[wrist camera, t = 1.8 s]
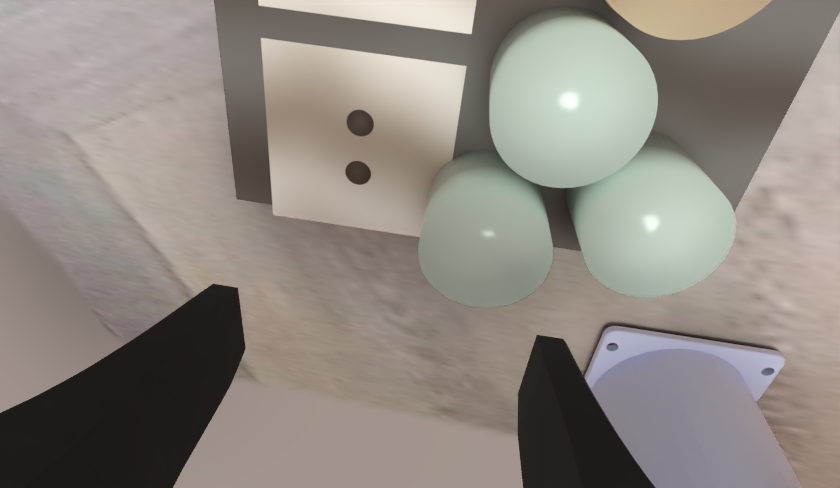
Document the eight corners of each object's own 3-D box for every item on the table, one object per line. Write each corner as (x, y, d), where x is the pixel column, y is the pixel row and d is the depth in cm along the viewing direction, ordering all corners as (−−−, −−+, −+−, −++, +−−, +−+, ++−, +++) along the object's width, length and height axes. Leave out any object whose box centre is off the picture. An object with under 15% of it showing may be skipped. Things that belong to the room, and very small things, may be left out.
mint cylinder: (603, 149, 18) (625, 198, 15) (479, 131, 18) (477, 176, 15) (647, 15, 15) (685, 41, 12) (503, -4, 16) (506, 17, 13)
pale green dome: (667, 245, 20) (702, 305, 17) (554, 231, 20) (567, 288, 17) (713, 138, 17) (762, 185, 14) (583, 123, 17) (605, 167, 14)
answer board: (692, 267, 21) (698, 279, 20) (245, 200, 22) (237, 209, 21) (979, -299, 12) (1010, -311, 11) (185, -383, 12) (167, -400, 12)
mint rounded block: (529, 257, 21) (535, 316, 18) (422, 241, 21) (411, 297, 18) (556, 159, 18) (569, 208, 15) (435, 142, 18) (425, 187, 15)
